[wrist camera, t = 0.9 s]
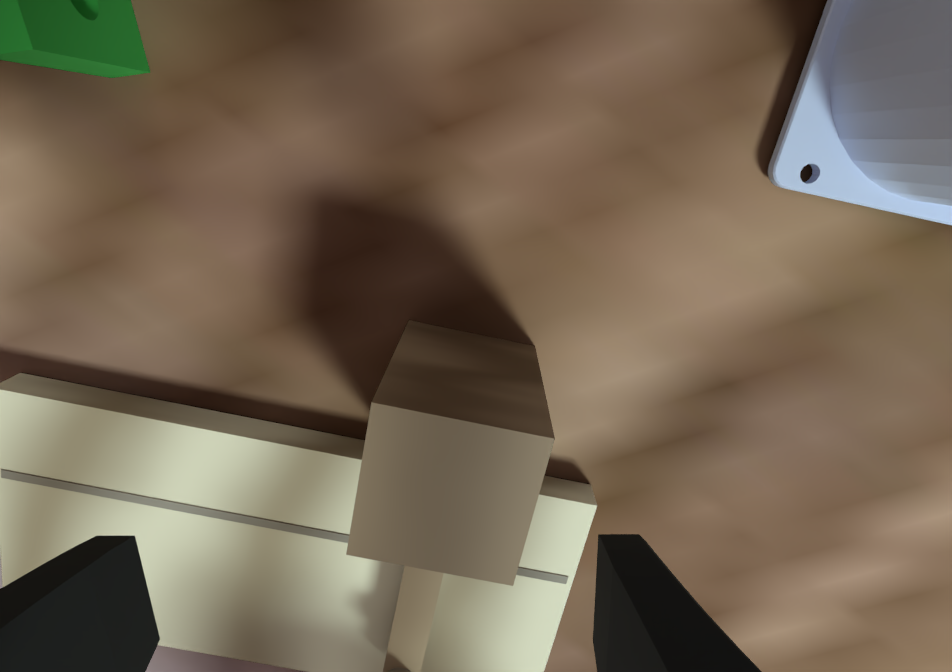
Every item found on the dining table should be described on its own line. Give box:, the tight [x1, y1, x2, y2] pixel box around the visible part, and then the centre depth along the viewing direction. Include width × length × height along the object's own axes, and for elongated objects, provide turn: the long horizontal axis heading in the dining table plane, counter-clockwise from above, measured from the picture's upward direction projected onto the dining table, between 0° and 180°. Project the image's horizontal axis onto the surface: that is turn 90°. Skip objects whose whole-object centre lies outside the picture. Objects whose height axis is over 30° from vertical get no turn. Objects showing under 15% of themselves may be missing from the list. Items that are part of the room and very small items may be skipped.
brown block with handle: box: [346, 320, 555, 672], centre depth 17 cm, size 4×12×6 cm, turn 168°
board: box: [0, 373, 597, 672], centre depth 20 cm, size 19×9×1 cm, turn 78°
